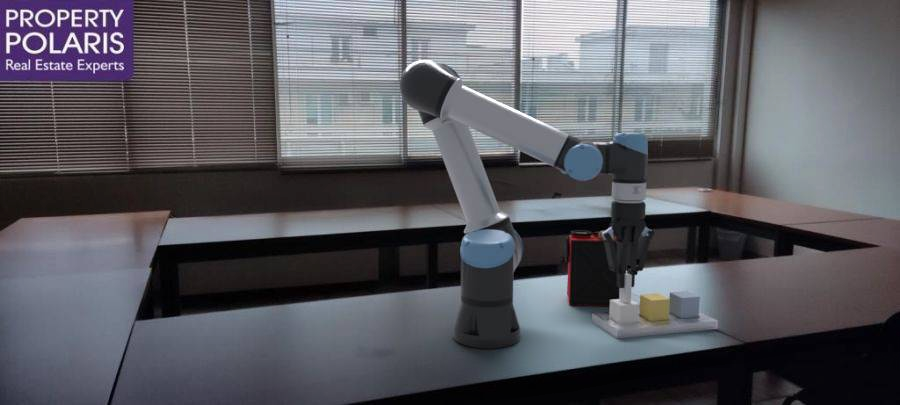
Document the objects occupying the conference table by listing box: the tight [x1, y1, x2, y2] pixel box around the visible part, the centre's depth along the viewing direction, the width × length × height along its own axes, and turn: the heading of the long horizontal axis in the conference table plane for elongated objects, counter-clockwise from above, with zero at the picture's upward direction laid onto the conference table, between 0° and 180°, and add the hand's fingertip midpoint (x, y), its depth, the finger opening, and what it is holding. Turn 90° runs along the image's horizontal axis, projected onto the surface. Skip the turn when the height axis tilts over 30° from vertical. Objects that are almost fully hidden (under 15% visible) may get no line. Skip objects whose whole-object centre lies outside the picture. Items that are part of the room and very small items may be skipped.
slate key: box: [669, 290, 701, 319], centre depth 144 cm, size 5×5×5 cm
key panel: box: [591, 308, 719, 339], centre depth 142 cm, size 26×12×2 cm, turn 104°
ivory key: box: [608, 299, 640, 324], centre depth 140 cm, size 5×5×5 cm
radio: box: [564, 229, 620, 307], centre depth 160 cm, size 16×10×20 cm, turn 84°
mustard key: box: [639, 293, 670, 322], centre depth 142 cm, size 5×5×5 cm
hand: (625, 300), depth 140 cm, fingers closed
